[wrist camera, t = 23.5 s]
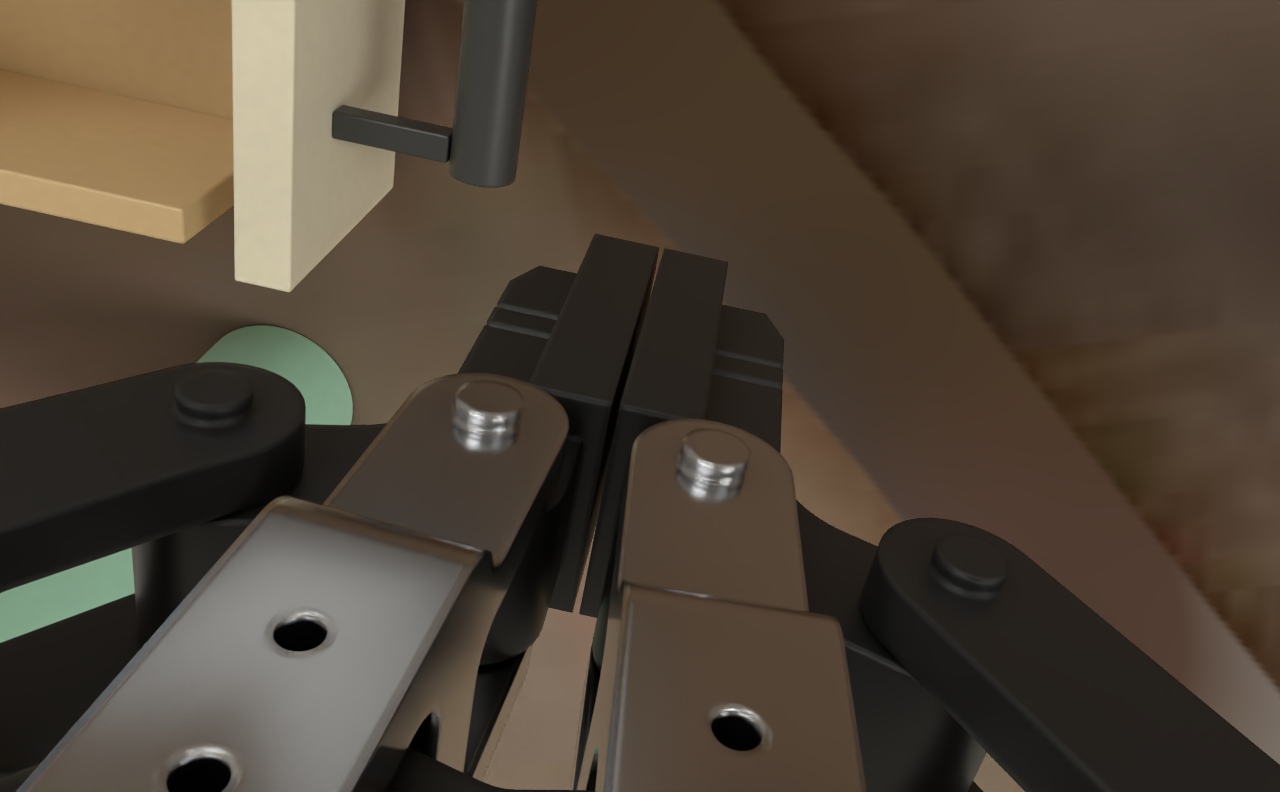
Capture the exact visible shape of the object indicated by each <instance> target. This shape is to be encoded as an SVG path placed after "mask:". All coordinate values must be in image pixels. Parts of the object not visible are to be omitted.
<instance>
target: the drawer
mask: <svg viewBox="0 0 1280 792" xmlns="http://www.w3.org/2000/svg"><path fill="white" fill-rule="evenodd" d="M536 7H537V0H464V9H463V20H462V31H461V42H460V53H459V64H458V75H457V86H456V97H455V108H454V119H453V128H448V127H444V126H439V125H434V124H430V123H425V122H420V121H416V120H411V119H407V118H402V117H398V104H399V89H400V74H401V58H402V43H403V27H404V12H405V0H0V204H4V205H8V206H13V207H17V208H22V209H26V210H31V211H35V212H40V213H44V214H49V215H53V216H58V217H63V218H67V219H72V220H76V221H81V222H85V223H90V224H94V225H99V226H103V227H108V228H112V229H117V230H121V231H126V232H130V233H135V234H140V235H144V236H149V237H153V238H158V239H162V240H167V241H171V242H176V243H180V244H182V243H185V242H187V241H188V240H189V239H191V238H192V237H193V236H195V235H196V234H197V233H198V232H200V231H201V230H202V229H204V228H205V227H206V226H208V225H209V224H210V223H211V222H213V221H214V220H215V219H217V218H218V217H219V216H221V215H222V214H223V213H225V212H226V211H227V210H228V209H230V208H231V207H232V206H234V255H235V280H236V281H240V282H244V283H249V284H254V285H258V286H263V287H267V288H272V289H276V290H281V291H285V292H291V291H292V290H293V289H294V288H295V287H296V286H297V284H298V283H299V282H300V281H301V280H302V279H303V278H304V277H305V276H306V275H307V274H308V273H309V272H310V271H311V270H312V269H313V268H314V267H315V266H316V265H317V264H318V263H319V262H320V261H321V260H322V259H323V258H324V257H325V256H326V255H327V254H328V253H329V252H330V251H331V250H332V249H333V248H334V247H335V246H336V245H337V244H338V243H339V242H340V241H341V240H342V239H343V238H344V237H345V236H346V235H347V234H348V233H349V232H350V231H351V230H352V229H353V228H354V227H355V226H356V225H357V224H358V223H359V222H360V221H361V220H362V219H363V218H364V217H365V216H366V214H367V213H368V212H369V211H370V210H371V209H372V208H373V207H374V206H375V205H376V204H377V203H378V202H379V201H380V200H381V199H382V198H383V197H384V196H385V195H386V194H387V193H388V192H389V191H390V190H391V189H392V188H393V181H394V166H395V152H398V153H403V154H407V155H412V156H416V157H421V158H426V159H430V160H435V161H439V162H444V163H445V162H447V161H448V160H449V159H450V163H449V172H450V174H451V175H452V176H453V177H454V178H455V179H457V180H459V181H461V182H464V183H466V184H470V185H474V186H479V187H490V188H493V187H504V186H507V185H510V184H512V183H513V182H514V180H515V177H516V169H517V161H518V153H519V145H520V137H521V129H522V120H523V112H524V104H525V96H526V88H527V80H528V72H529V64H530V56H531V47H532V39H533V31H534V23H535V15H536Z"/></svg>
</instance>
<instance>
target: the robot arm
mask: <svg viewBox="0 0 1280 792" xmlns="http://www.w3.org/2000/svg"><path fill="white" fill-rule="evenodd" d="M658 252H659V247H655V246H650V245H645V244H641V243H636V242H631V241H627V240H622V239H617V238H613V237H608V236H603V235H599V234H595V235H594V237H593V239H592V241H591V243H590V246H589V248H588V250H587V253H586V255H585V257H584V259H583V262H582V264H581V266H580V268H579V271H578V273H577V274H576V273H571V272H566V271H562V270H557V269H552V268H548V267H543V266H538V267H536V268H534V269H532V270H530V271H528V272H526V273H524V274H522V275H520V276H518V277H516V278H515V279H513V280H511V281H510V282H509V284H508V285H507V287H506V289H505V291H504V292H503V294H502V296H501V298H500V299H499V301H498V304H497V307H495V308H494V310H493V312H492V314H491V315H490V317H489V319H488V321H487V325H486V326H484V328H483V329H482V331H481V333H480V335H479V337H478V338H477V340H476V342H475V344H474V345H473V347H472V349H471V351H470V352H469V354H468V356H467V358H466V360H465V361H464V363H463V365H462V367H461V368H460V370H459V372H458V374H453V375H447V376H443V377H439V378H436V379H433V380H431V381H429V382H426V383H424V384H423V385H421V386H420V387H418V388H416V389H415V390H414V391H413V392H412V393H411V394H410V395H409V397H408V398H407V399H406V401H405V402H404V403H403V404H402V406H401V407H400V408H399V409H398V411H397V412H396V413H395V414H394V416H393V417H392V418H391V419H390V421H389V422H388V423H385V424H375V425H320V424H305V421H306V405H305V400H304V397H303V396H302V394H301V392H300V391H299V390H298V388H297V387H296V386H295V385H294V384H293V383H291V382H290V381H288V380H287V379H286V378H284V377H282V376H280V375H278V374H276V373H274V372H271V371H269V370H266V369H263V368H259V367H255V366H251V365H246V364H239V363H230V362H201V363H191V364H185V365H180V366H175V367H170V368H166V369H162V370H158V371H154V372H150V373H146V374H142V375H137V376H133V377H129V378H125V379H121V380H117V381H113V382H108V383H104V384H100V385H96V386H92V387H88V388H84V389H80V390H75V391H71V392H67V393H63V394H59V395H55V396H51V397H46V398H42V399H38V400H34V401H30V402H26V403H22V404H18V405H13V406H9V407H5V408H1V409H0V593H2V592H4V591H7V590H10V589H13V588H16V587H19V586H21V585H24V584H27V583H30V582H33V581H36V580H39V579H42V578H45V577H48V576H51V575H54V574H56V573H59V572H62V571H65V570H68V569H71V568H74V567H77V566H80V565H83V564H86V563H88V562H91V561H94V560H97V559H100V558H103V557H106V556H109V555H112V554H115V553H118V552H120V551H123V550H126V549H129V548H132V561H133V575H134V588H135V593H133V594H131V595H128V596H125V597H123V598H120V599H117V600H115V601H112V602H109V603H106V604H104V605H101V606H98V607H96V608H93V609H90V610H88V611H85V612H82V613H79V614H77V615H74V616H71V617H69V618H66V619H63V620H61V621H58V622H55V623H53V624H50V625H47V626H44V627H42V628H39V629H36V630H34V631H31V632H28V633H26V634H23V635H20V636H18V637H15V638H12V639H9V640H7V641H4V642H1V643H0V792H983V791H982V790H981V789H980V788H979V787H978V786H977V785H976V783H975V782H974V781H973V779H974V777H975V775H976V773H977V771H978V769H979V767H980V765H981V763H982V761H983V759H984V757H985V754H986V752H987V753H988V754H989V755H990V756H991V757H992V758H993V759H994V760H995V761H996V762H997V763H998V764H999V765H1000V766H1001V767H1002V768H1003V769H1004V770H1005V771H1006V772H1007V773H1008V774H1009V775H1010V776H1011V777H1012V778H1013V779H1014V780H1015V781H1016V783H1017V784H1018V785H1019V786H1020V787H1021V788H1022V789H1023V790H1024V791H1025V792H1280V765H1279V764H1278V763H1277V762H1275V761H1274V760H1273V759H1272V758H1271V757H1269V756H1268V755H1267V754H1266V753H1265V752H1263V751H1262V750H1261V749H1260V748H1259V747H1257V746H1256V745H1255V744H1254V743H1252V742H1251V741H1250V740H1249V739H1248V738H1246V737H1245V736H1244V735H1243V734H1242V733H1240V732H1239V731H1238V730H1237V729H1236V728H1234V727H1233V726H1232V725H1230V724H1229V723H1228V722H1227V721H1226V720H1225V719H1223V718H1222V717H1221V716H1220V715H1219V714H1217V713H1216V712H1215V711H1214V710H1213V709H1211V708H1210V707H1209V706H1208V705H1206V704H1205V703H1204V702H1203V701H1202V700H1201V699H1199V698H1198V697H1197V696H1196V695H1194V694H1193V693H1192V692H1191V691H1190V690H1188V689H1187V688H1186V687H1185V686H1184V685H1182V684H1181V683H1180V682H1179V681H1178V680H1176V679H1175V678H1174V677H1173V676H1171V675H1170V674H1169V673H1168V672H1167V671H1166V670H1164V669H1163V668H1162V667H1161V666H1159V665H1158V664H1157V663H1156V662H1155V661H1153V660H1152V659H1151V658H1150V657H1149V656H1147V655H1146V654H1145V653H1144V652H1142V651H1141V650H1140V649H1139V648H1138V647H1137V646H1135V645H1134V644H1133V643H1132V642H1130V641H1129V640H1128V639H1127V638H1126V637H1124V636H1123V635H1122V634H1121V633H1119V632H1118V631H1117V630H1116V629H1115V628H1114V627H1112V626H1111V625H1110V624H1109V623H1108V622H1106V621H1105V620H1104V619H1103V618H1101V617H1100V616H1099V615H1098V614H1097V613H1095V612H1094V611H1093V610H1092V609H1090V608H1089V607H1088V606H1087V605H1086V604H1084V603H1083V602H1082V601H1081V600H1080V599H1079V598H1077V597H1076V596H1075V595H1074V594H1072V593H1071V592H1070V591H1069V590H1067V589H1066V588H1065V587H1064V586H1063V585H1062V584H1060V583H1059V582H1058V581H1057V580H1056V579H1054V578H1053V577H1052V576H1051V575H1049V574H1048V573H1047V572H1046V571H1045V570H1043V569H1042V568H1041V567H1040V566H1039V565H1037V564H1036V563H1035V562H1034V561H1033V560H1031V559H1030V558H1029V557H1028V556H1027V555H1025V554H1024V553H1023V552H1021V551H1020V550H1019V549H1017V548H1016V547H1015V546H1013V545H1011V544H1010V543H1008V542H1006V541H1005V540H1003V539H1001V538H1000V537H998V536H996V535H993V534H991V533H989V532H987V531H985V530H982V529H980V528H977V527H975V526H972V525H968V524H965V523H961V522H957V521H952V520H947V519H938V518H917V519H911V520H906V521H903V522H901V523H898V524H896V525H894V526H893V527H891V528H889V529H888V530H887V531H886V533H885V534H884V535H883V536H882V539H881V541H880V543H879V546H875V545H873V544H871V543H868V542H866V541H864V540H861V539H859V538H857V537H855V536H852V535H850V534H848V533H845V532H843V531H841V530H839V529H837V528H835V527H833V526H831V525H829V524H828V523H826V522H824V521H823V520H821V519H819V518H818V517H816V516H815V515H814V514H812V513H811V512H810V511H808V510H807V509H806V508H805V507H804V506H803V505H802V504H800V503H799V502H798V501H797V500H796V496H795V487H794V479H793V475H792V471H791V469H790V467H789V465H788V463H787V461H786V460H785V459H784V458H783V456H782V455H781V454H780V445H781V414H782V384H783V369H782V367H783V351H784V339H783V338H782V336H781V335H780V334H779V332H778V330H777V329H776V328H775V326H774V325H773V323H772V322H771V321H770V319H769V318H768V316H767V315H766V314H763V313H758V312H754V311H749V310H744V309H740V308H735V307H730V306H726V305H722V300H723V293H724V287H725V280H726V273H727V266H728V262H725V261H721V260H716V259H711V258H707V257H702V256H697V255H693V254H688V253H684V252H679V251H674V250H670V249H664V252H663V255H662V259H661V262H660V266H659V269H658V273H657V276H656V280H655V283H654V287H653V290H652V294H651V289H652V284H653V279H654V274H655V269H656V264H657V258H658ZM650 294H651V297H650ZM649 300H650V301H649ZM596 523H597V525H596ZM595 527H596V530H595ZM594 531H595V535H594V541H593V546H592V551H591V556H590V561H589V566H588V572H587V577H586V582H585V587H584V592H583V597H582V603H581V608H580V613H579V614H582V615H587V616H591V617H596V618H597V622H596V627H595V632H594V637H593V643H592V647H591V652H590V657H589V661H588V666H587V671H586V676H585V681H584V686H583V693H582V701H581V708H580V716H579V723H578V731H577V739H576V746H575V754H574V761H573V769H572V777H571V784H570V790H513V789H503V788H499V787H494V786H492V785H489V784H486V783H484V782H482V779H483V777H484V774H485V772H486V770H487V767H488V765H489V762H490V760H491V758H492V755H493V753H494V750H495V748H496V746H497V743H498V741H499V738H500V736H501V734H502V731H503V729H504V726H505V724H506V722H507V719H508V717H509V714H510V712H511V710H512V707H513V705H514V702H515V700H516V698H517V695H518V693H519V690H520V688H521V686H522V683H523V681H524V679H525V676H526V674H527V670H528V667H529V662H530V656H531V650H532V644H533V643H534V641H535V640H536V639H537V637H538V636H539V634H540V632H541V630H542V627H543V624H544V620H545V617H546V614H547V611H548V607H549V608H553V609H558V610H563V611H567V612H573V608H574V604H575V601H576V597H577V593H578V590H579V586H580V582H581V579H582V575H583V571H584V568H585V564H586V560H587V557H588V553H589V549H590V545H591V542H592V538H593V534H594Z"/></svg>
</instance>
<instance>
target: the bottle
mask: <svg viewBox="0 0 1280 792" xmlns="http://www.w3.org/2000/svg"><path fill="white" fill-rule="evenodd" d="M201 362H230V363H239V364H246V365H251V366H255V367H259V368H263V369H266V370H269V371H271V372H274V373H276V374H278V375H280V376H282V377H284V378H286V379H287V380H288V381H290V382H291V383H293V384H294V385H295V386H296V387H297V388H298V390H299V391H300V392H301V394H302V396H303V397H304V400H305V405H306V421H305V424H320V425H351V421H352V414H353V403H352V396H351V391H350V389H349V386H348V383H347V381H346V379H345V377H344V375H343V373H342V371H341V370H340V368H339V367H338V365H337V364H336V363H335V362H334V360H333V359H332V358H331V357H330V356H329V355H328V354H327V353H326V352H325V351H324V350H323V349H322V348H320V347H319V346H318V345H316V344H315V343H314V342H312V341H311V340H309V339H307V338H306V337H304V336H302V335H300V334H298V333H295V332H293V331H290V330H287V329H284V328H280V327H275V326H267V325H256V326H248V327H243V328H240V329H237V330H234V331H232V332H230V333H228V334H227V335H225V336H223V337H222V338H221V339H220V340H219V341H218V342H217V343H216V344H215V345H213V346H212V347H211V348H210V349H209V350H208V351H207V352H206V353H205V354H204V355H203V356H202V357H201V358H200V359H199V360H198V361H197V362H196V363H201ZM133 593H135V588H134V575H133V561H132V548H129V549H126V550H123V551H120V552H118V553H115V554H112V555H109V556H106V557H103V558H100V559H97V560H94V561H91V562H88V563H86V564H83V565H80V566H77V567H74V568H71V569H68V570H65V571H62V572H59V573H56V574H54V575H51V576H48V577H45V578H42V579H39V580H36V581H33V582H30V583H27V584H24V585H21V586H19V587H16V588H13V589H10V590H7V591H4V592H2V593H0V643H1V642H4V641H7V640H9V639H12V638H15V637H18V636H20V635H23V634H26V633H28V632H31V631H34V630H36V629H39V628H42V627H44V626H47V625H50V624H53V623H55V622H58V621H61V620H63V619H66V618H69V617H71V616H74V615H77V614H79V613H82V612H85V611H88V610H90V609H93V608H96V607H98V606H101V605H104V604H106V603H109V602H112V601H115V600H117V599H120V598H123V597H125V596H128V595H131V594H133Z"/></svg>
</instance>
